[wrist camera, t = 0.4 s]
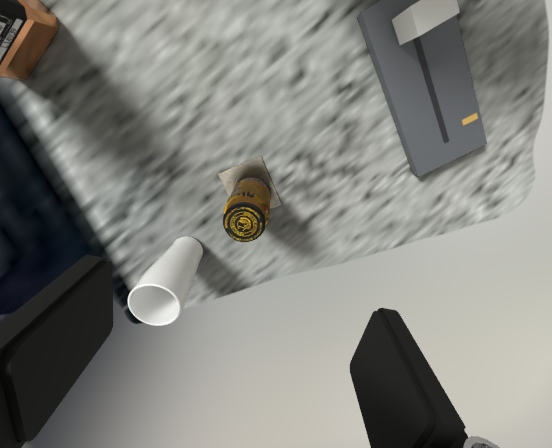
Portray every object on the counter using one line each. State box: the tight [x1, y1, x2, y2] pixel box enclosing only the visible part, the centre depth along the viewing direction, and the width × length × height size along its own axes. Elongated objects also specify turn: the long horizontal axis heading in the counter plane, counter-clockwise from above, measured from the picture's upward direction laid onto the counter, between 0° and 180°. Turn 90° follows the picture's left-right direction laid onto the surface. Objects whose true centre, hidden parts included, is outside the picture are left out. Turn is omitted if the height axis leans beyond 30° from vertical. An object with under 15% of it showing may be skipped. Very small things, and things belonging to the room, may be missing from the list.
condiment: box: [218, 156, 282, 242], centre depth 39 cm, size 7×8×12 cm
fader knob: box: [392, 0, 460, 45], centre depth 31 cm, size 3×4×5 cm
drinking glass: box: [128, 237, 203, 326], centre depth 42 cm, size 7×7×15 cm
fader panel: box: [357, 0, 487, 177], centre depth 37 cm, size 23×10×2 cm, turn 29°
